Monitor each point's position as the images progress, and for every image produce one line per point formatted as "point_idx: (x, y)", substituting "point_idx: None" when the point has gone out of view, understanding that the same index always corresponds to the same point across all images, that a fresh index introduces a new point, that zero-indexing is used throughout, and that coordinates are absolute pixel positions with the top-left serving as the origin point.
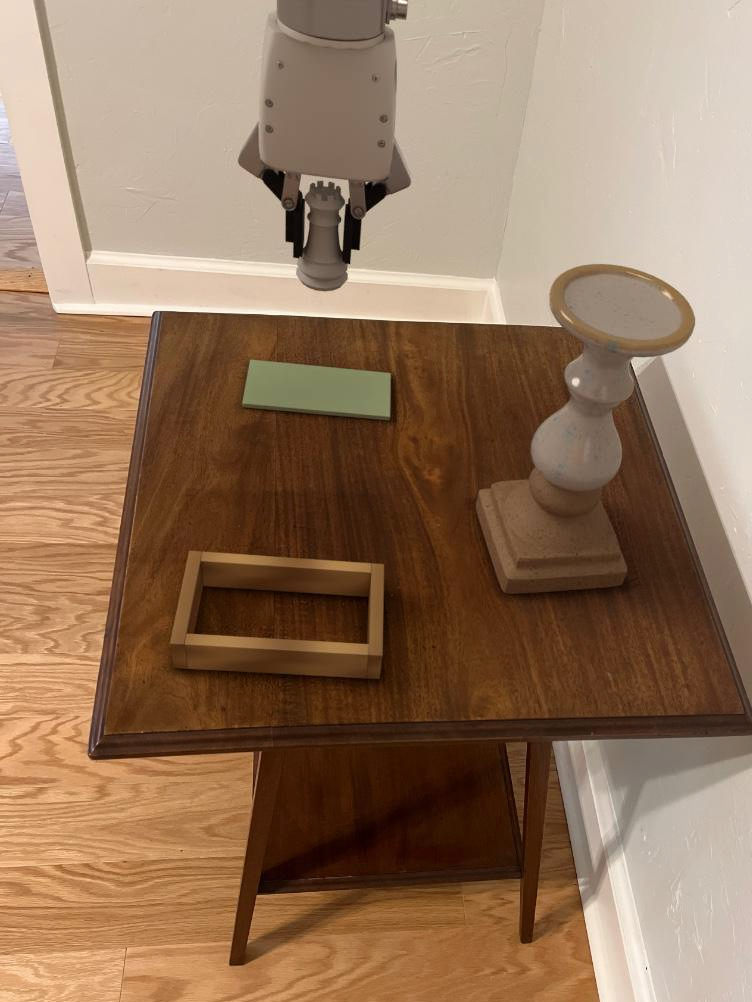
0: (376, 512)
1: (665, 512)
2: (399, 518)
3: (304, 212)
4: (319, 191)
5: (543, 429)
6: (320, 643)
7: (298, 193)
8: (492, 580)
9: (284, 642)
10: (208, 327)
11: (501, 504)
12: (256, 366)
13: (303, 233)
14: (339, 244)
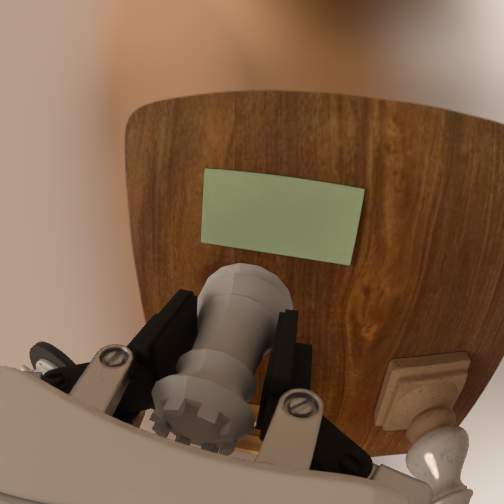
0: (312, 364)
1: (500, 356)
2: (328, 370)
3: (170, 343)
4: (179, 424)
5: (417, 466)
6: (257, 452)
7: (135, 395)
8: (371, 409)
9: (239, 449)
10: (163, 109)
11: (395, 402)
12: (211, 181)
13: (186, 336)
14: (265, 346)
